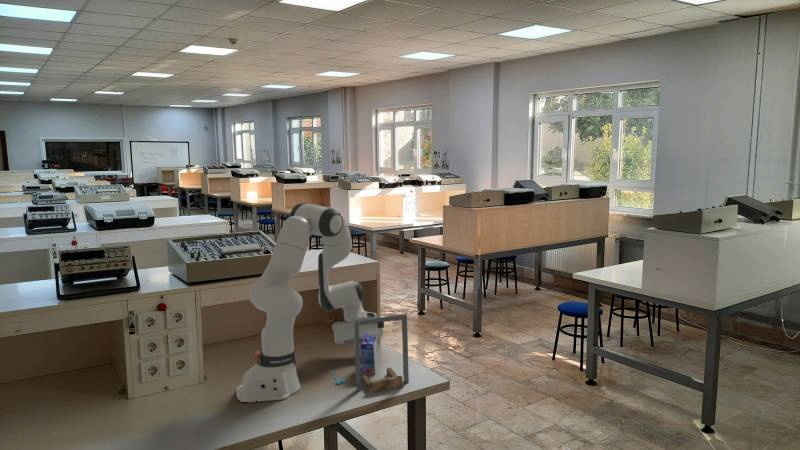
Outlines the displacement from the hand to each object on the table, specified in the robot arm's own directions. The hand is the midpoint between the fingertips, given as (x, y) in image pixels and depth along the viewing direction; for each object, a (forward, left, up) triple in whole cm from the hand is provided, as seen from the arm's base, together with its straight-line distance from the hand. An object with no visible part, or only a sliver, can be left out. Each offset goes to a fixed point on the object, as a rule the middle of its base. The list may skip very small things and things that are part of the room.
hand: (362, 349), depth 225 cm
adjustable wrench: (-14, -12, -5) cm, 19 cm away
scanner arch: (0, -26, -4) cm, 27 cm away
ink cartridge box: (0, -10, -5) cm, 11 cm away
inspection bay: (0, -23, -4) cm, 24 cm away
